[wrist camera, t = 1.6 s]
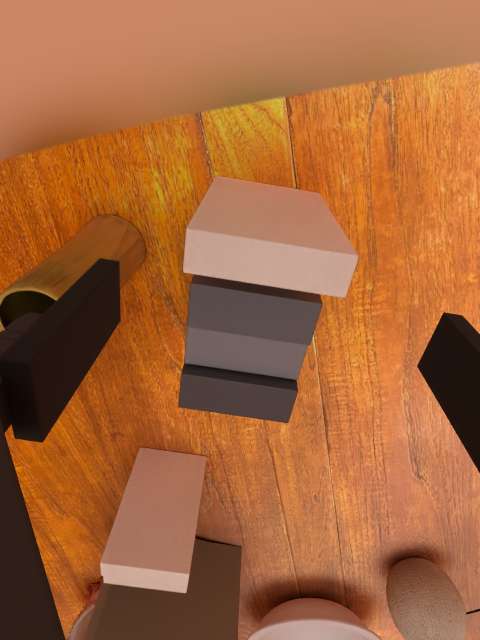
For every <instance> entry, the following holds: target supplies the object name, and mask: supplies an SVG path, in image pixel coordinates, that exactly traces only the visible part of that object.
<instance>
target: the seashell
mask: <svg viewBox="0 0 480 640" xmlns="http://www.w3.org/2000/svg"><path fill="white" fill-rule="evenodd" d="M102 582H103V577H102V578H101V579H99V584H95V585H94V584H91V587H88V588H87V589H88V590H87V591H88V594H87V596H86V597H87V598H88V603H87V605H86V606H85V607H83V608H84V609H83V611H81V613H80V614H78V617H77V618H76V620H75V621H74V623H73V624H72V625H74V626H73V627H72V629H71V630H70V631H68V633H70V635H68V636H67V638H68V639H67V640H84V637H85V634H86V631H87V628H88V625H89V622H90V618H91V615H92V612H93V609H94V606H95V603H96V600H97V597H98V594H99V591H100V588H101V585H102Z"/></svg>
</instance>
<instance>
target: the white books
mask: <svg viewBox="0 0 480 640" xmlns="http://www.w3.org/2000/svg"><path fill="white" fill-rule="evenodd" d="M206 460H207V457H206V456H200V455H193V454H186V453H179V452H171V451H164V450H157V449H150V448H143V447H140V448H139V451H138V454H137V457H136V460H135V463H134V466H133V469H132V472H131V475H130V477H129V480H128V483H127V486H126V489H125V492H124V495H123V498H122V501H121V504H120V506H119V509H118V512H117V515H116V518H115V521H114V524H113V527H112V530H111V533H110V535H109V538H108V541H107V544H106V547H105V550H104V553H103V556H102V559H101V562H100V569H101V576H103V580H104V583H109V584H116V585H124V586H132V587H140V588H148V589H156V590H164V591H172V592H180V593H186V592H187V586H188V580H189V574H190V568H191V561H192V554H193V547H194V541H195V534H196V527H197V520H198V514H199V507H200V500H201V493H202V487H203V480H204V473H205V466H206Z"/></svg>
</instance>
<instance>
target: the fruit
mask: <svg viewBox="0 0 480 640" xmlns="http://www.w3.org/2000/svg"><path fill="white" fill-rule="evenodd" d="M386 594H387V602H388V606H389V610H390V613H391V615H392V619H393V621H394V623H395V625H396V627H397V628H398V630H399V632H400V633H401V635H402V636H403V637H404V638H405V639H406V640H465V637H466V633H467V615H466V610H465V607H464V603H463V601H462V598H461V596H460V594H459V592H458V590H457V588H456V586H455V585H454V583H453V582H452V580H451V579H450V578H449V576H448V575H447V574H446V573H445V572H444V571H443V570H442V569H441V568H440V567H438V566H437V565H436V564H434V563H433V562H431V561H429V560H426V559H422V558H408V559H404V560H401V561H399V562H398V563H396V564H395V565H394V566H393V567H392V569H391V570H390V572H389V575H388V578H387V586H386Z"/></svg>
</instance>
